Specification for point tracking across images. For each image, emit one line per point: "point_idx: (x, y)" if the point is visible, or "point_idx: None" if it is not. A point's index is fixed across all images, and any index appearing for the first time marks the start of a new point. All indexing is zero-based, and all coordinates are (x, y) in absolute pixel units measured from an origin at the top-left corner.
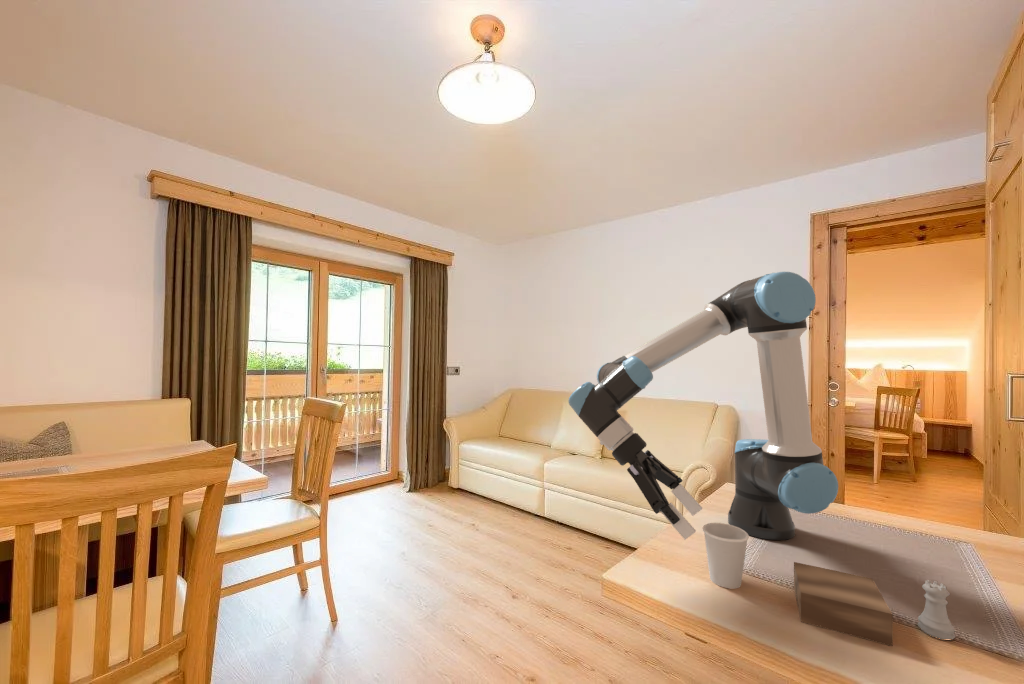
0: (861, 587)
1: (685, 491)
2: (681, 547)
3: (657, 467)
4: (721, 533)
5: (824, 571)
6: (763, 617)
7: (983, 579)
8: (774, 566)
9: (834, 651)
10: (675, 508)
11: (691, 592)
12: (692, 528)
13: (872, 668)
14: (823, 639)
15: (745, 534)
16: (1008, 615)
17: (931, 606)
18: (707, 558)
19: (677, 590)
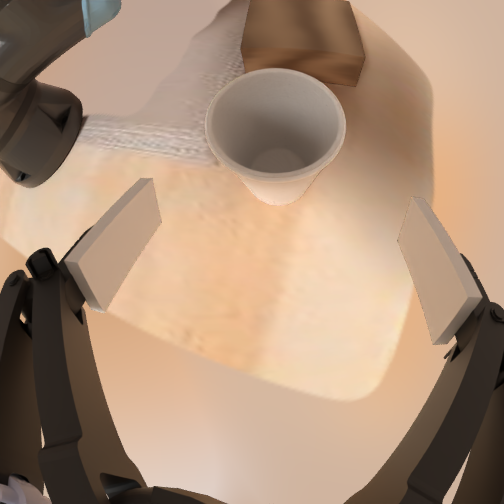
0: (290, 3)
1: (103, 235)
2: (152, 271)
3: (99, 485)
4: (221, 141)
5: (258, 22)
6: (376, 129)
7: None
8: (176, 101)
9: (398, 74)
10: (464, 270)
11: (362, 242)
12: (429, 206)
13: (402, 56)
14: (381, 76)
15: (265, 74)
16: None
17: None
18: (284, 197)
19: (367, 271)
